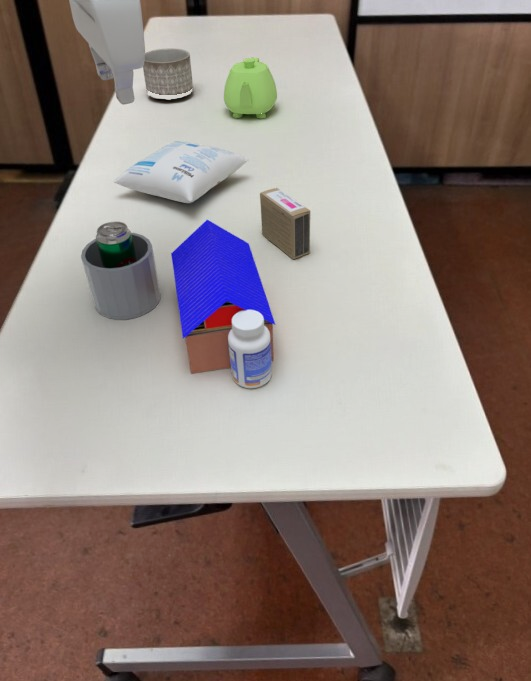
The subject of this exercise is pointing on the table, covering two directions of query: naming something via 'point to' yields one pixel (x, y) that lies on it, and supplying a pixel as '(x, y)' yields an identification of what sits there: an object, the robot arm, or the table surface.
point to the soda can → (115, 245)
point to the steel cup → (123, 282)
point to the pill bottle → (250, 349)
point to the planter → (168, 71)
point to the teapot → (250, 89)
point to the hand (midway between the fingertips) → (116, 89)
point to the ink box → (285, 222)
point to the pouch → (181, 171)
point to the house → (215, 293)
